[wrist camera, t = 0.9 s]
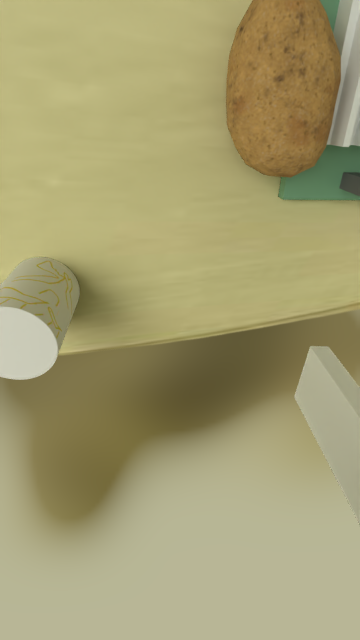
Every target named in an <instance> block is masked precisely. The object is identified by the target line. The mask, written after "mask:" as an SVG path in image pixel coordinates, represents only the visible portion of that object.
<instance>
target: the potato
mask: <svg viewBox="0 0 360 640" xmlns="http://www.w3.org/2000/svg"><path fill="white" fill-rule="evenodd" d="M340 82H341V56H340V53H339V50H338V47H337V44H336V41H335V38H334V35H333V32H332V29H331V26H330V23H329V20H328V16H327V13H326V11H325V9H324V7H323V5H322V4H321V2H320V0H253V1H252V3H251V4H250V6H249V8H248V10H247V12H246V13H245V15H244V17H243V19H242V21H241V23H240V24H239V26H238V28H237V31H236V34H235V38H234V41H233V45H232V48H231V51H230V55H229V63H228V73H227V93H226V108H227V125H228V129H229V131H230V134H231V137H232V139H233V142H234V145H235V147H236V149H237V150H238V152H239V154H240V155H241V157H242V159H243V160H244V162H245V163H246V164H247V165H248V166H250V167H252V168H254V169H255V170H257V171H259V172H260V173H262V174H265V175H268V176H279V177H289V178H291V177H293V176H295V175H297V174H299V173H301V172H303V171H305V170H307V169H309V168H311V167H314V166H315V164H316V162H317V161H318V159H319V158H320V156H321V154H322V153H323V151H324V150H325V148H326V145H327V141H328V137H329V133H330V129H331V126H332V120H333V115H334V109H335V104H336V99H337V95H338V90H339V86H340Z"/></svg>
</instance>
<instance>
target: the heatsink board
mask: <svg viewBox="0 0 360 640" xmlns="http://www.w3.org/2000/svg"><path fill="white" fill-rule="evenodd" d="M320 2H321V4H322V5H323V7H324V9H325V11H326V13H327V16H328V20H329V23H330V26H331V29H332V32H333V35H334V38H335V41H336V44H337V47H338V50H339V53H340V56H341V82H340V86H339V90H338V95H337V99H336V104H335V109H334V115H333V120H332V126H331V129H330V133H329V137H328V141H327V145H326V148H325V150H324V151H323V153H322V154H321V156H320V158H319V159H318V161H317V162H316V164H315V166H314V167H311V168H309V169H307V170H305V171H303V172H301V173H299V174H297V175H295V176H293V177H291V178H289V177H281V183H280V189H279V195H278V197H280V198H281V199H287V200H360V0H320Z"/></svg>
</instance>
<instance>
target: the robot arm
mask: <svg viewBox="0 0 360 640" xmlns="http://www.w3.org/2000/svg"><path fill="white" fill-rule="evenodd" d="M295 399H296V401H297V403H298V405H299V407H300V409H301V411H302V413H303V415H304V417H305V419H306V421H307V423H308V424H309V426H310V429H311V431H312V432H313V434H314V436H315V438H316V440H317V442H318V444H319V446H320V448H321V450H322V452H323V454H324V456H325V458H326V460H327V462H328V464H329V466H330V468H331V470H332V471H333V474H334V476H335V478H336V479H337V482H338V483H339V485H340V487H341V489H342V491H343V493H344V495H345V497H346V499H347V501H348V503H349V505H350V507H351V509H352V511H353V513H354V515H355V517H356V519H357V521H358V523H359V525H360V387H359V386H358V385H357V383H356V382H355V381H354V379H353V378H352V377H351V375H350V374H349V373H348V371H347V370H346V369H345V368H344V366H343V365H342V364H341V362H340V361H339V360H338V358H337V357H336V356H335V354H334V353H333V352H332V351H331V349H330V348H329V347H328V346H310V349H309V352H308V355H307V358H306V362H305V365H304V368H303V371H302V374H301V377H300V381H299V384H298V387H297V390H296V393H295Z"/></svg>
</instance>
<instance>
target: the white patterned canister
mask: <svg viewBox="0 0 360 640" xmlns="http://www.w3.org/2000/svg"><path fill="white" fill-rule="evenodd" d="M79 296H80V287H79V283H78V281H77V279H76V277H75V275H74V274H73V273H72V271H71V270H70V269H69V268H68V267H66V266H65V265H64V264H62V263H60V262H58V261H56V260H54V259H51V258H46V257H34V258H29V259H26V260H24V261H22V262H21V263H20V264H18V265H17V266H16V267H15V269H14V270H13V271H12V272H11V273H10V274H9V276H8V277H7V278H6V279H5V280H4V281H3V282H2V284H1V285H0V376H1V377H4V378H9V379H30V378H34V377H37V376H39V375H41V374H43V373H45V372H46V371H48V370H49V369H50V368H51V367H52V366H53V364H54V362H55V360H56V358H57V355H58V353H59V350H60V348H61V345H62V342H63V340H64V337H65V334H66V332H67V329H68V327H69V324H70V321H71V319H72V316H73V313H74V311H75V308H76V306H77V303H78V300H79Z"/></svg>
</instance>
